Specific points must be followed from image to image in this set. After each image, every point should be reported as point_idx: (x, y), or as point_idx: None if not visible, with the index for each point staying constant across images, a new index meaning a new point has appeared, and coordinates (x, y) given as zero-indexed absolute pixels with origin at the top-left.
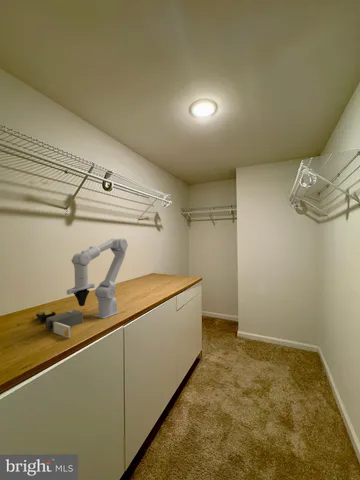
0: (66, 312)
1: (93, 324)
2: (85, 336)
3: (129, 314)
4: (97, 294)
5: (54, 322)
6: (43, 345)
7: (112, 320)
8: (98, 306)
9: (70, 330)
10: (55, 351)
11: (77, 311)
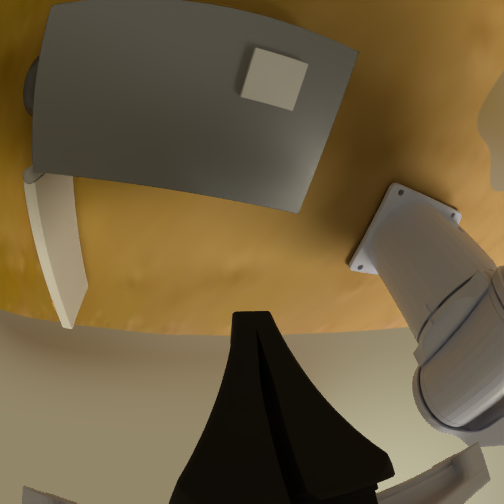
0: (254, 33)
1: (262, 266)
2: (136, 320)
3: (397, 321)
4: (488, 323)
5: (25, 189)
6: (2, 233)
7: (329, 310)
8: (418, 261)
9: (77, 312)
10: (26, 305)
11: (314, 140)
